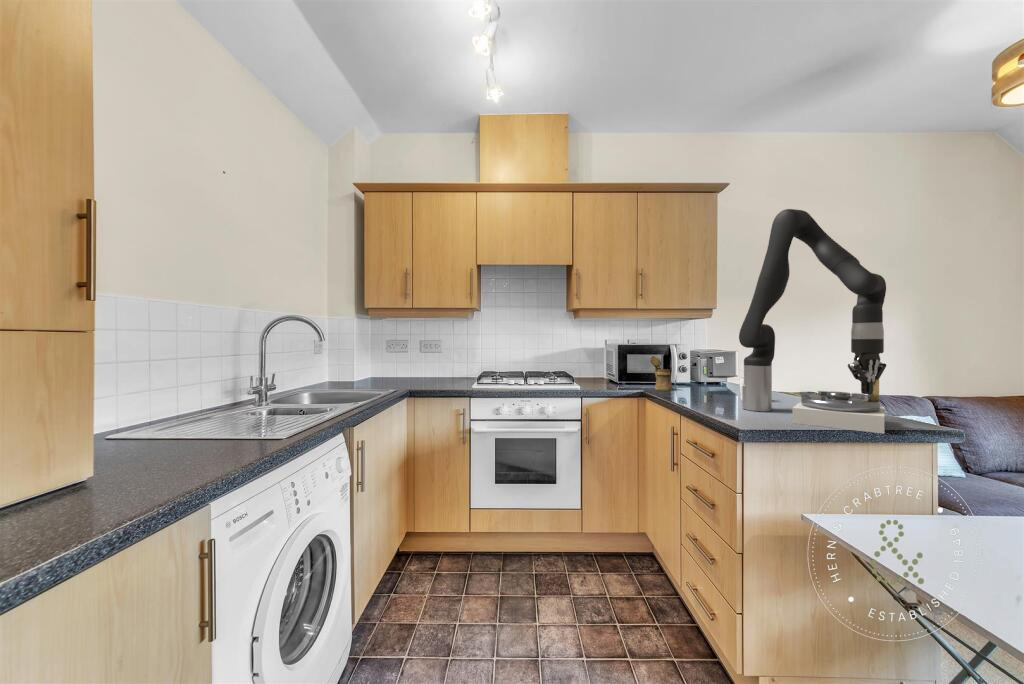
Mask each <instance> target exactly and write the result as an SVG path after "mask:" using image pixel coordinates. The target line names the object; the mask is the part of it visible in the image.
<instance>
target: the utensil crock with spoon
mask: <svg viewBox="0 0 1024 684" xmlns="http://www.w3.org/2000/svg"><path fill="white" fill-rule="evenodd" d="M650 363H651V364H652V365H653V367H655V369H654V375H655V385H654V390H655V391H660V392H661V391H662V392H671V391H672V392H673V390H674V388H673V386H672V385H673V384H672V378H671V377H672V374H671V371H670V369H668V368H664V369H663V368H661V365H662V363H661V361H660V358H658V357H656V356H654V355H652V356H651V358H650Z"/></svg>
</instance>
